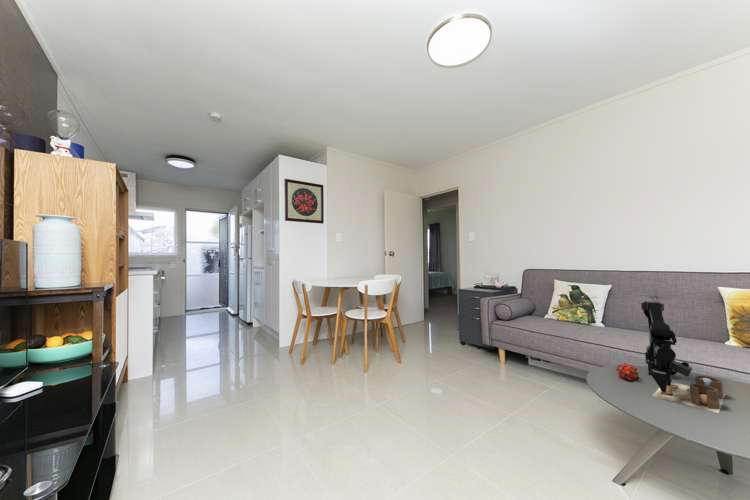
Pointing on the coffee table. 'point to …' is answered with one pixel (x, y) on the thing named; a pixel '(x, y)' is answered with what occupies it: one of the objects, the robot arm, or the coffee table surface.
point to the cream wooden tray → (696, 394)
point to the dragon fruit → (627, 371)
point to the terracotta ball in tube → (703, 399)
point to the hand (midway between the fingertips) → (666, 389)
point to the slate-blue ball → (706, 381)
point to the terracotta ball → (668, 390)
